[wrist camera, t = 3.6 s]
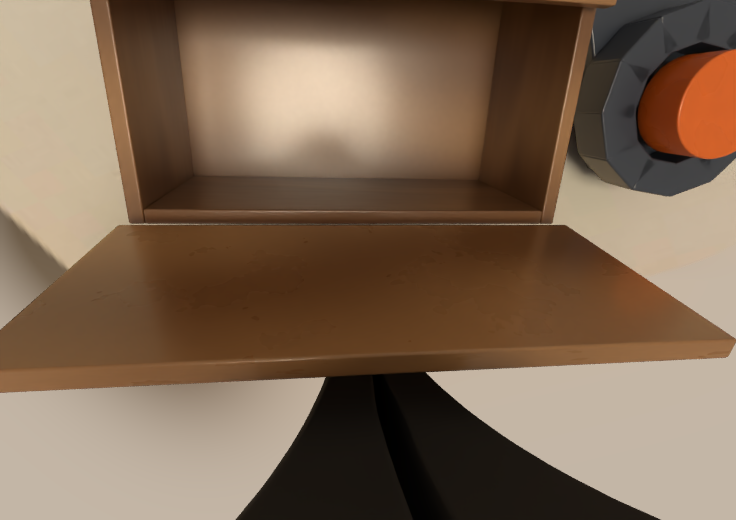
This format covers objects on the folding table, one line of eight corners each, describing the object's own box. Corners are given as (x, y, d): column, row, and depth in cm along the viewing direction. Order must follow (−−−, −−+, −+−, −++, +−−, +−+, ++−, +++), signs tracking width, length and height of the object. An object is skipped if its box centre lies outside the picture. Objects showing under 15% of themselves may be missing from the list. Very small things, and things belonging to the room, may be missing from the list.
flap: (565, 224, 12) (562, 237, 12) (117, 224, 10) (121, 239, 10) (739, 339, 7) (729, 358, 7) (-52, 373, 5) (-39, 396, 6)
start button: (723, 134, 15) (773, 138, 13) (639, 165, 15) (679, 173, 13) (723, 40, 14) (778, 32, 12) (632, 74, 14) (675, 70, 12)
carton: (482, 187, 17) (568, 232, 12) (186, 184, 16) (114, 233, 10) (529, -145, 13) (693, -328, 8) (141, -194, 12) (-20, -467, 6)
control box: (784, 118, 18) (872, 122, 15) (566, 200, 18) (613, 218, 15) (803, -177, 14) (924, -245, 11) (524, -71, 14) (576, -113, 11)
